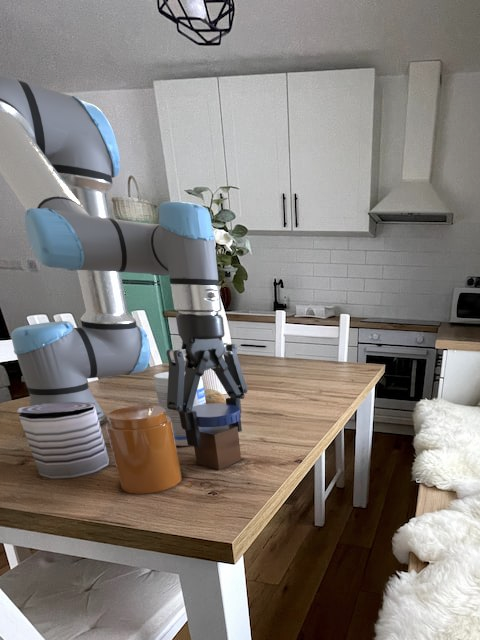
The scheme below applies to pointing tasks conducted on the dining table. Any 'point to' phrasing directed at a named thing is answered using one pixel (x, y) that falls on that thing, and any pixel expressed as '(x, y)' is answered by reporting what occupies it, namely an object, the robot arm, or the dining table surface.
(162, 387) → the supplement tub
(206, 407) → the lid
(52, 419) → the can
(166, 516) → the dining table surface
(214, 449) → the cube
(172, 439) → the jar
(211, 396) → the bread roll
